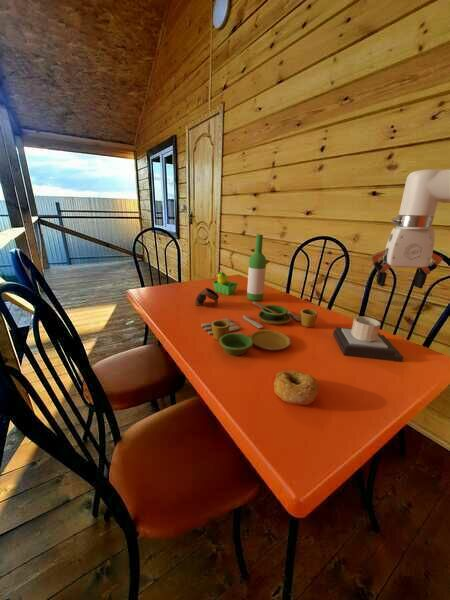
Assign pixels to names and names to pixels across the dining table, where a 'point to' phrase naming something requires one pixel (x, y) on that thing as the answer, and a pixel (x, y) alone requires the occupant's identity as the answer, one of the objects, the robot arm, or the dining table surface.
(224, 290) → the fruit basket
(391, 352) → the scale
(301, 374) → the bagel
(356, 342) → the weigh platform
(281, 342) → the tableware set
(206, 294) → the dark brown arch
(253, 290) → the wine bottle
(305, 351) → the dining table surface
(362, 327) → the bowl
